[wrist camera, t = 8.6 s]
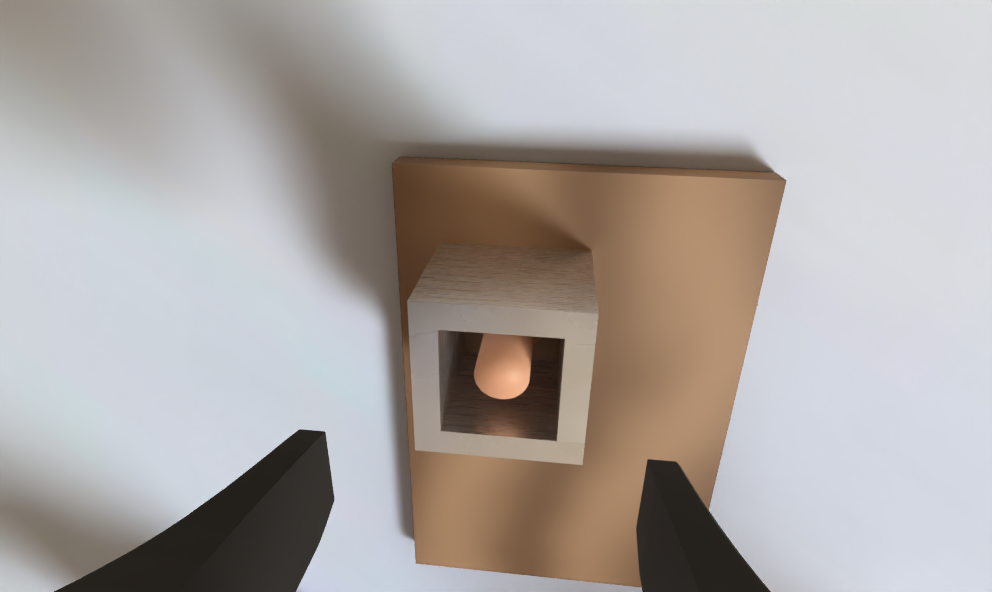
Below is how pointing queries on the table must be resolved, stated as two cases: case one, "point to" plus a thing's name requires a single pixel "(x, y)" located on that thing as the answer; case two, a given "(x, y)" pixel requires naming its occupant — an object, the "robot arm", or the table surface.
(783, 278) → the table surface
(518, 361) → the post
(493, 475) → the board
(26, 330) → the table surface
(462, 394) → the collar
